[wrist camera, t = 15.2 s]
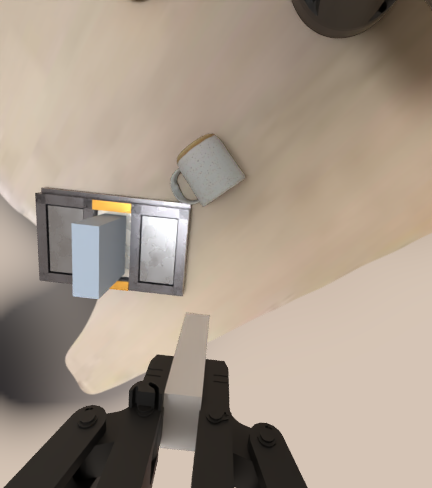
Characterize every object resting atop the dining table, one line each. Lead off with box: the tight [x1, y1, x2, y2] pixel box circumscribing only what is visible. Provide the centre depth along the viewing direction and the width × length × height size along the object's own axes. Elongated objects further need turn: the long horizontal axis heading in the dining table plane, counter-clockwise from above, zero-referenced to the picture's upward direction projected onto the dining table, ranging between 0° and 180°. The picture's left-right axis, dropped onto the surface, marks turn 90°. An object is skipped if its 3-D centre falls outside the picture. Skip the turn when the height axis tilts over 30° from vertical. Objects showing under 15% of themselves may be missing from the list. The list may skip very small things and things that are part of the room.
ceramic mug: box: [171, 134, 245, 207], centre depth 40 cm, size 11×8×8 cm
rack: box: [35, 188, 191, 296], centre depth 45 cm, size 16×24×3 cm, turn 84°
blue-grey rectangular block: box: [71, 213, 126, 299], centre depth 40 cm, size 10×4×10 cm, turn 174°
